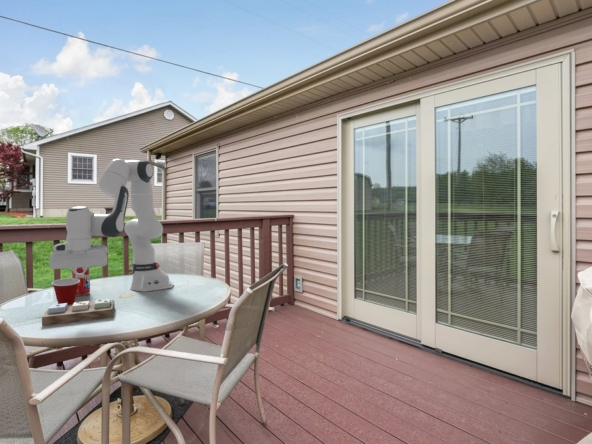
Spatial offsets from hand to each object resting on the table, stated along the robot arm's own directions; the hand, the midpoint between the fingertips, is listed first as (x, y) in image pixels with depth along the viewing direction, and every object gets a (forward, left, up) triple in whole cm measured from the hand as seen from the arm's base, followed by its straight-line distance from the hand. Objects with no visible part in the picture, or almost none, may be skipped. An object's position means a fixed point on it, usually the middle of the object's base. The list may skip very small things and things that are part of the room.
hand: (80, 277), depth 139 cm
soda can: (+5, -38, -17) cm, 42 cm away
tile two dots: (-8, 0, -14) cm, 16 cm away
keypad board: (0, 0, -16) cm, 16 cm away
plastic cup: (+8, -18, -17) cm, 26 cm away
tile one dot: (+8, 0, -14) cm, 16 cm away
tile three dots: (0, 0, -14) cm, 14 cm away
